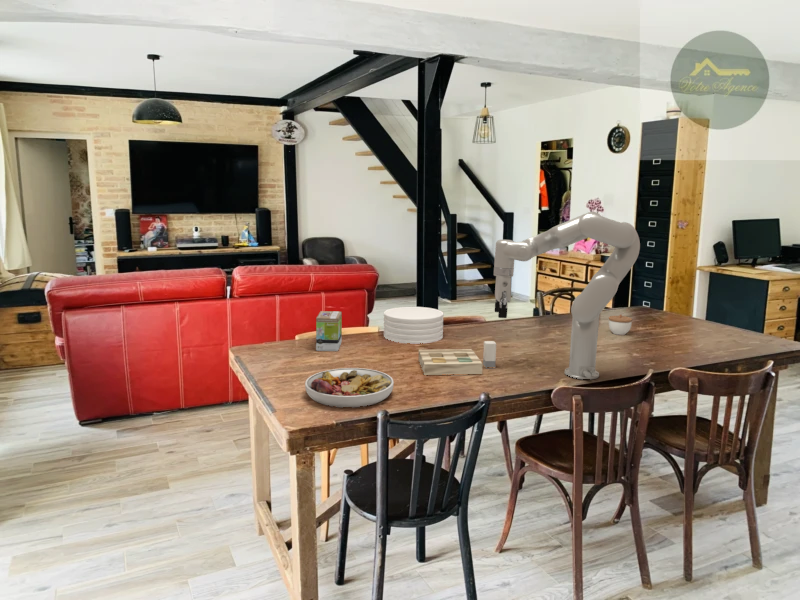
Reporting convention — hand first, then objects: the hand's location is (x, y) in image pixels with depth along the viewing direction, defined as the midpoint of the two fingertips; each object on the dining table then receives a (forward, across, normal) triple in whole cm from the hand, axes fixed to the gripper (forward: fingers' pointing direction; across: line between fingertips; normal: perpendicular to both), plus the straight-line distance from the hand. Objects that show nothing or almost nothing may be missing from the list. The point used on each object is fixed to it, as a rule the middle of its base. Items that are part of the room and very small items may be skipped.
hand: (500, 314), depth 235 cm
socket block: (+21, -4, +19) cm, 29 cm away
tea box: (+23, +25, +70) cm, 78 cm away
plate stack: (+22, +45, +33) cm, 60 cm away
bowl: (+22, -35, +56) cm, 70 cm away
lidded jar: (+20, +54, -68) cm, 89 cm away
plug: (+21, -2, +3) cm, 21 cm away
